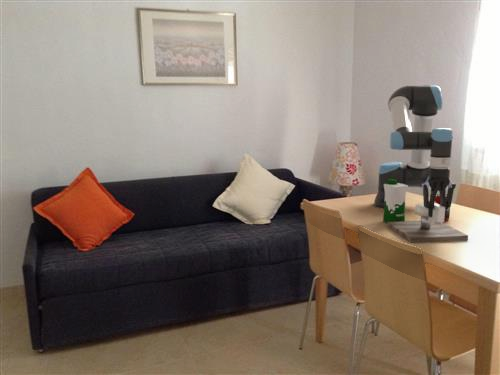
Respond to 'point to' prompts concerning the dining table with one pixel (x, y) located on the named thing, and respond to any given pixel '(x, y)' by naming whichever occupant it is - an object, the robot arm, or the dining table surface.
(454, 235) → the base plate
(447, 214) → the beverage can
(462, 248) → the dining table surface
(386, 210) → the milk carton
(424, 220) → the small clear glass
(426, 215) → the spoon
